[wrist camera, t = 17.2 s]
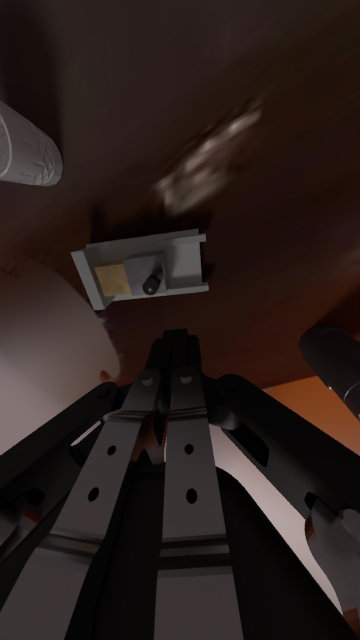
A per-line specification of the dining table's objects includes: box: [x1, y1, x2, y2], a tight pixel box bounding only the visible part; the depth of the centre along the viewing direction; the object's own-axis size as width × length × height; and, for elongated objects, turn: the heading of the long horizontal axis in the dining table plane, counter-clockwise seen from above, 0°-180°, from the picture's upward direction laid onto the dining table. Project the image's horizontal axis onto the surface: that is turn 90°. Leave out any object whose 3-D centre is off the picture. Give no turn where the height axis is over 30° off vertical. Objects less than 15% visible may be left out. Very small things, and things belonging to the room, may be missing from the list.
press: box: [71, 229, 209, 310], centre depth 32 cm, size 21×11×6 cm, turn 97°
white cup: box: [0, 101, 63, 186], centre depth 23 cm, size 8×8×10 cm
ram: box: [122, 250, 170, 296], centre depth 28 cm, size 6×6×11 cm
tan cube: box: [94, 259, 131, 296], centre depth 32 cm, size 5×5×5 cm
